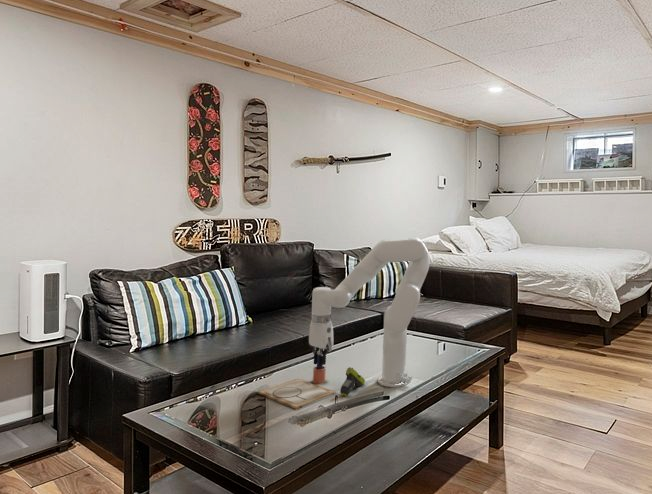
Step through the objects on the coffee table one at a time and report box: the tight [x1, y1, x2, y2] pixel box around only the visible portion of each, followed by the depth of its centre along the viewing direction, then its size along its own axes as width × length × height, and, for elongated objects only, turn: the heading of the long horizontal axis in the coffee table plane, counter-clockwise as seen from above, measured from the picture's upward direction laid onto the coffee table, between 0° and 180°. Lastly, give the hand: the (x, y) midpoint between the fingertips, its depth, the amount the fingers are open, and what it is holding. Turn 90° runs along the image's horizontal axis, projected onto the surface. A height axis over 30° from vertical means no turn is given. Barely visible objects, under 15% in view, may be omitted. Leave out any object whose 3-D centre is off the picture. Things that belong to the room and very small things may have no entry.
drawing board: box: [258, 378, 336, 410], centre depth 185 cm, size 22×18×1 cm
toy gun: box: [339, 366, 366, 398], centre depth 189 cm, size 2×14×10 cm
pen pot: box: [312, 365, 327, 384], centre depth 197 cm, size 5×5×6 cm
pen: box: [316, 351, 323, 369], centre depth 197 cm, size 2×2×12 cm
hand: (319, 363), depth 197 cm, fingers closed on pen, 2 cm apart
